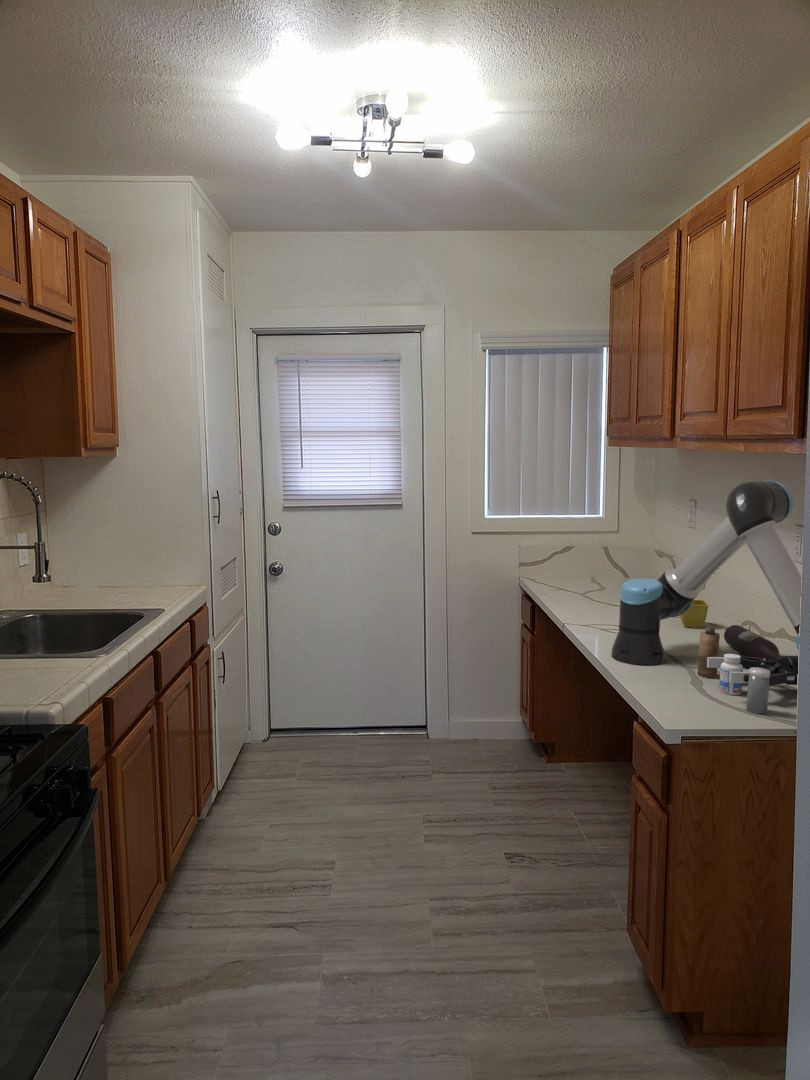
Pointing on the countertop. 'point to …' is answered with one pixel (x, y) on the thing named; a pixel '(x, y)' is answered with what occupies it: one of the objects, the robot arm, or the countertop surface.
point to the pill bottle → (725, 669)
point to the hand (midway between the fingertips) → (718, 669)
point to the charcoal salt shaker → (758, 690)
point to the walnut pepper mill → (708, 652)
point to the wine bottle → (751, 643)
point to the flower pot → (695, 614)
